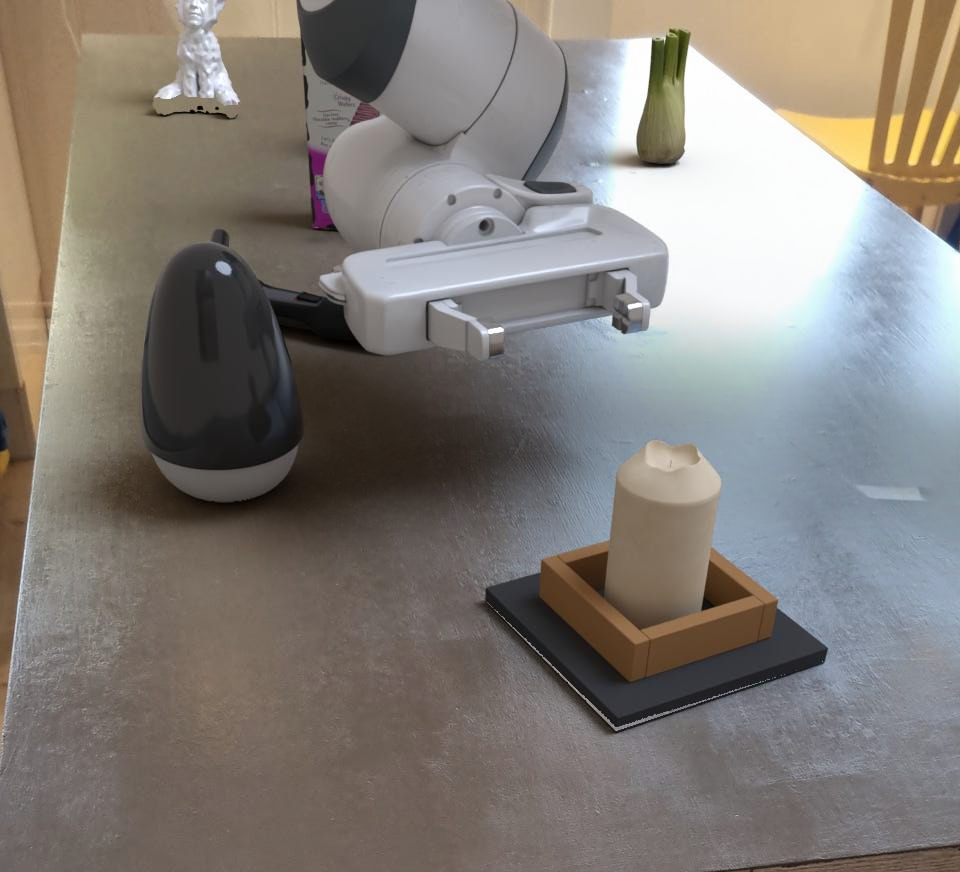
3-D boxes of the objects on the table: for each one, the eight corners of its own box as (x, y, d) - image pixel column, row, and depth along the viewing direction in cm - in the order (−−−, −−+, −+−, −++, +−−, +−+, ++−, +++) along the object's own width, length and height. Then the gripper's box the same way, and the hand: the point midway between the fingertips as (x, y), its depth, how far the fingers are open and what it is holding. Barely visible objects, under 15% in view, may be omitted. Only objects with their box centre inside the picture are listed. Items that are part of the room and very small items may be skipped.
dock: (680, 546, 85) (687, 495, 83) (825, 662, 76) (838, 609, 74) (484, 601, 80) (486, 549, 78) (615, 733, 71) (622, 678, 69)
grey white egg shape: (317, 449, 93) (303, 216, 83) (296, 525, 86) (278, 279, 75) (168, 443, 94) (135, 209, 83) (134, 519, 86) (94, 272, 76)
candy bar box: (439, 220, 127) (440, 18, 116) (430, 238, 124) (431, 32, 113) (322, 211, 128) (311, 10, 117) (309, 229, 125) (298, 23, 114)
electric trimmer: (396, 363, 104) (395, 322, 102) (220, 323, 109) (217, 282, 106) (417, 345, 107) (417, 304, 105) (245, 307, 111) (242, 267, 109)
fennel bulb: (643, 171, 140) (657, 37, 132) (622, 156, 143) (634, 25, 135) (693, 165, 141) (710, 33, 133) (671, 151, 145) (686, 21, 136)
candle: (582, 609, 78) (597, 445, 71) (652, 579, 80) (672, 418, 74) (649, 654, 75) (671, 487, 68) (719, 621, 77) (748, 457, 71)
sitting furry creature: (151, 116, 149) (135, -12, 141) (167, 94, 155) (153, -29, 147) (238, 120, 149) (227, -8, 141) (251, 98, 155) (241, -26, 147)
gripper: (304, 221, 81) (397, 305, 72) (604, 179, 88) (724, 250, 79) (311, 327, 85) (400, 418, 76) (596, 279, 92) (709, 357, 83)
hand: (567, 332), depth 77 cm, fingers open, 8 cm apart
